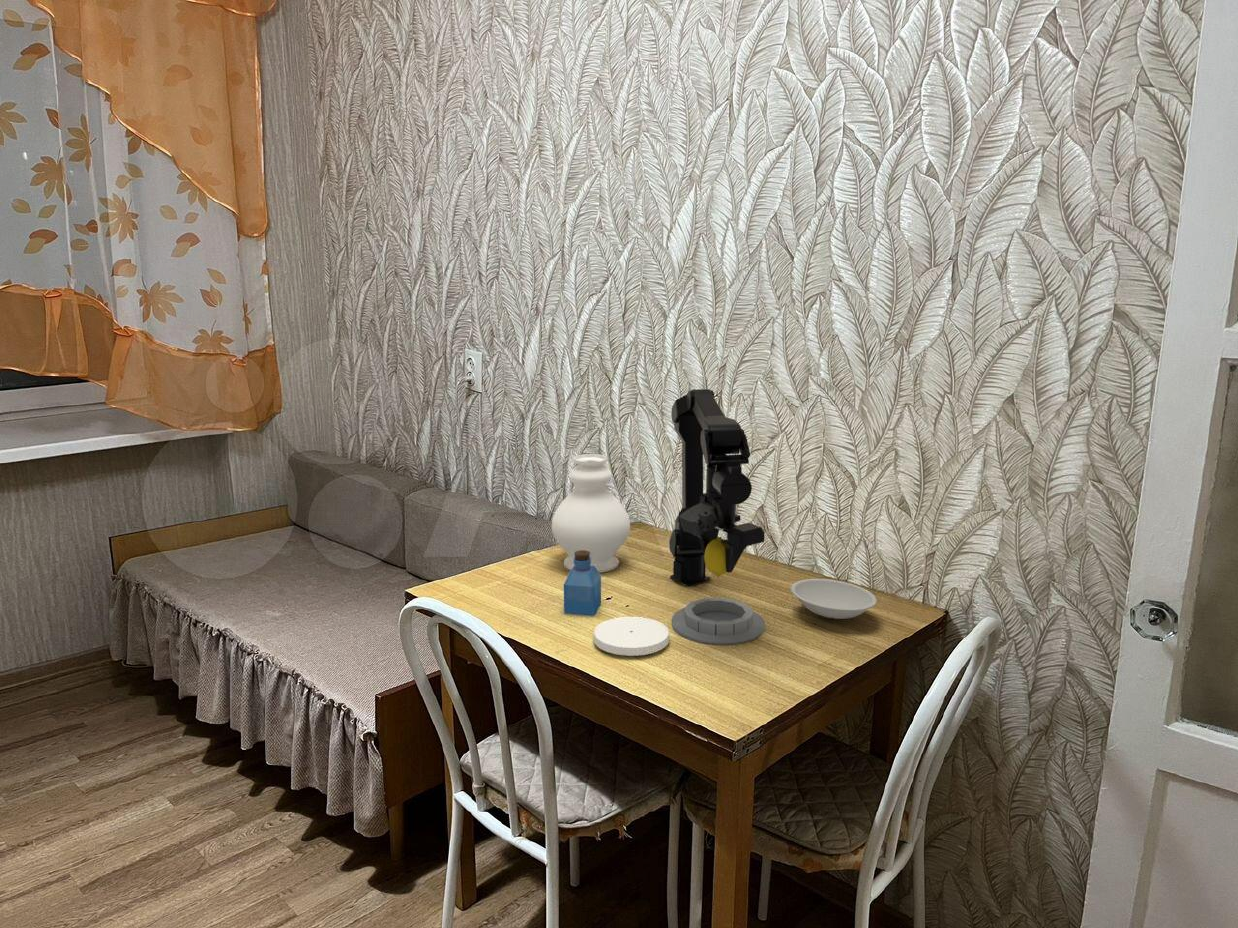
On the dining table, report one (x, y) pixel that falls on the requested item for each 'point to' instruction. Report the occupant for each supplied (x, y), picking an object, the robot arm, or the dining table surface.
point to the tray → (718, 639)
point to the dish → (833, 598)
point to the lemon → (716, 557)
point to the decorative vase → (591, 515)
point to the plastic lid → (631, 636)
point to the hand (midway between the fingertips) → (719, 567)
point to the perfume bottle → (582, 587)
